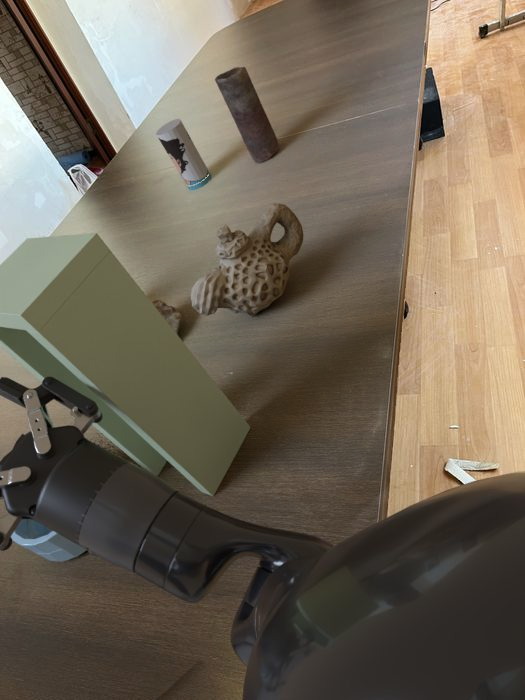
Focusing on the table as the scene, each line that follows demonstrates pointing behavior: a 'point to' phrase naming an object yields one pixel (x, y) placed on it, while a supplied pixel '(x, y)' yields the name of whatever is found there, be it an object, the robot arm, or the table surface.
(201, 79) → the table surface
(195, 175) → the grey printed cylinder
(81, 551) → the bowl
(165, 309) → the decorative stone
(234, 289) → the teapot
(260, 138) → the dark brown cylinder
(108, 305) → the stand
